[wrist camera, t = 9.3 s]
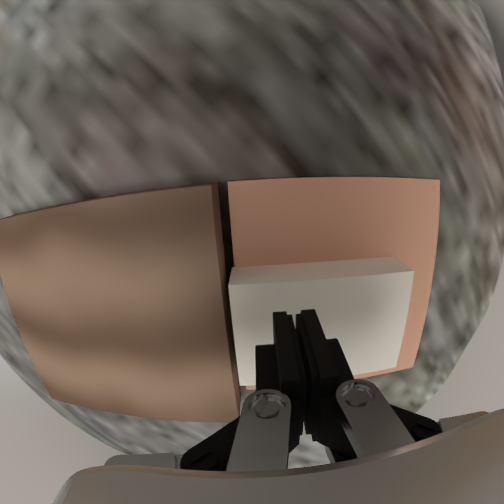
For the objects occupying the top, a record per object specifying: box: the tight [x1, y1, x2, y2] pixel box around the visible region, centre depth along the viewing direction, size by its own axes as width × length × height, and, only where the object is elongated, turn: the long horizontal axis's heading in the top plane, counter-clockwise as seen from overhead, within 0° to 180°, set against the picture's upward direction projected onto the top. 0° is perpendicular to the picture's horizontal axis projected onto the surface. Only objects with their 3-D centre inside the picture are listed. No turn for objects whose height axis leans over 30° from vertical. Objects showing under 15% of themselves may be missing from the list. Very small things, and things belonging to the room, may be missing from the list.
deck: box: [0, 183, 241, 422], centre depth 15 cm, size 14×15×2 cm
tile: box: [228, 256, 414, 386], centre depth 15 cm, size 6×9×2 cm, turn 94°
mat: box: [227, 177, 440, 390], centre depth 16 cm, size 13×12×1 cm
